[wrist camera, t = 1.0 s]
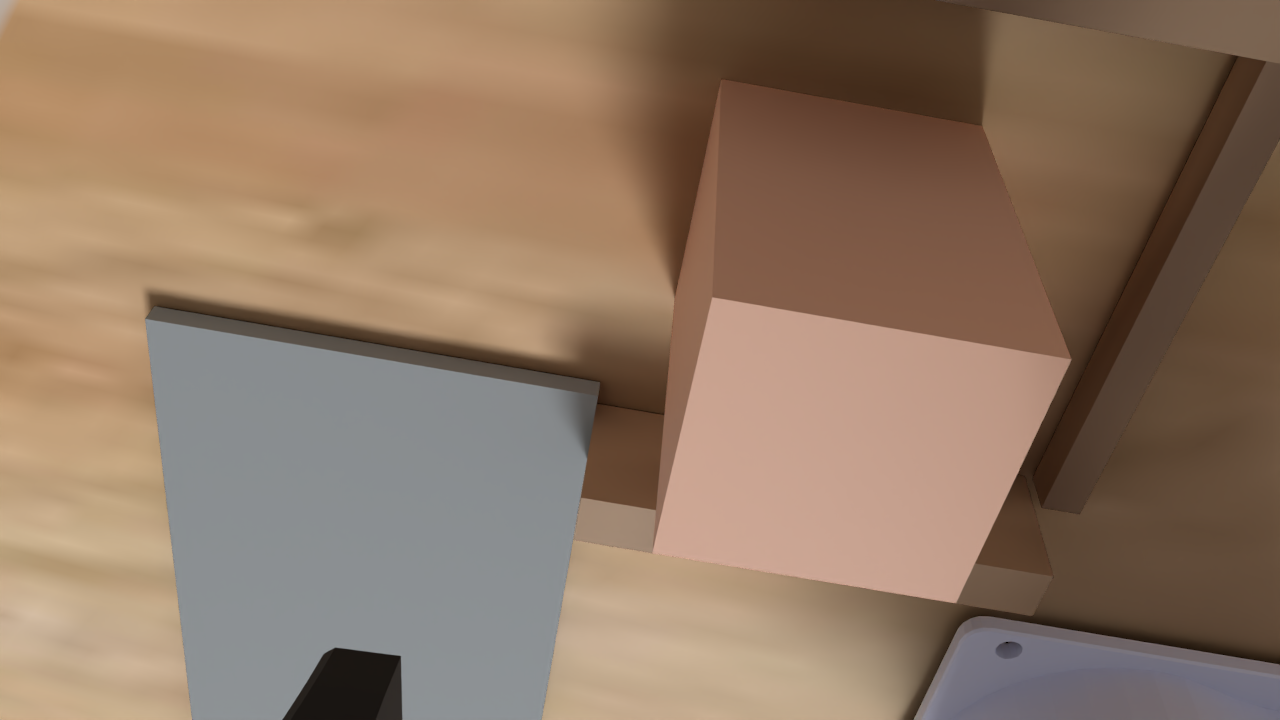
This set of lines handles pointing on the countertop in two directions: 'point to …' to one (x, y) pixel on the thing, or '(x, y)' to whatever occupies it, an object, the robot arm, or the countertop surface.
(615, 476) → the walnut cradle
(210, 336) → the slate mat
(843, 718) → the countertop surface
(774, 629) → the countertop surface
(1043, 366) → the terracotta block
